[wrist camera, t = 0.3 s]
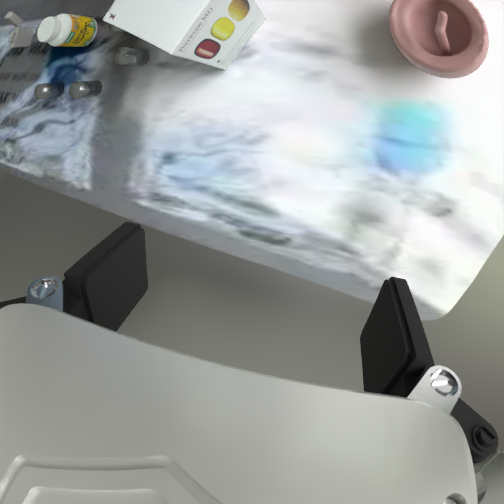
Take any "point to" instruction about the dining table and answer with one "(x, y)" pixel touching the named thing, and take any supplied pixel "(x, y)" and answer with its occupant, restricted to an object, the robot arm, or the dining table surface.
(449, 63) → the mortar and pestle
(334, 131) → the dining table surface
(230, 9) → the supplement box
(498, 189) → the dining table surface
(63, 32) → the supplement bottle
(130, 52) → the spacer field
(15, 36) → the lighter
